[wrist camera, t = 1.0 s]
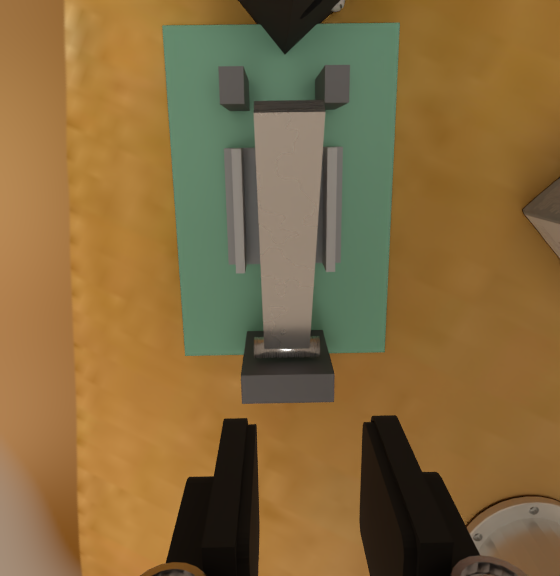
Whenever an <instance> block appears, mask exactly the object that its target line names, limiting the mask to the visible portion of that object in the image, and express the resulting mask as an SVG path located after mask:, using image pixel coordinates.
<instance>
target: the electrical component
mask: <svg viewBox="0 0 560 576" xmlns="http://www.w3.org/2000/svg"><path fill="white" fill-rule="evenodd" d="M238 1H239V2H240V3H241V4H242V6H243V7H244V8H245V9H246V11H247V12H248V13H249V14H250V16H251V17H252V18H253V19H254V21H255V22H256V23H257V24H260V25H261V26H262V27H263V28H264V29H265V31H266V32H267V33H268V34H269V36H270V37H271V38H272V39H273V41H274V42H275V43H276V44H277V46H278V47H279V48H280V49H281V51H282V52H283V53H284V54H286V53H287V52H288V51H289V50H290V49H291V48H292V47H293V46H295V45H296V44H297V43H298V42H299V41H300V40H301V39H302V38H303V37H304V36H305V35H306V34H307V33H308V32H309V31H310V30H311V29H312V28H313V27H314V26H316V25H317V24H320V23H321V22H322V21H323V20H324V19H326V18H327V17H328V16H329V15H330V14H331V13H332V12H337V11H340V10H341V9H340V8H343V7H344V3H345V0H238Z"/></svg>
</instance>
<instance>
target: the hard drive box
mask: <svg viewBox="0 0 560 576" xmlns="http://www.w3.org/2000/svg"><path fill="white" fill-rule="evenodd" d="M523 212H524V214H525V215H526V217H527V218H528V219H529V220H530V222H531V223H532V224H533V225H534V226H535V228H536V229H537V230H538V231H539V233H540V234H541V235H542V237H543V238H544V239H545V241H546V242H547V243H548V244H549V246H550V247H551V248H552V249H553V251H554V252H555V253H556V254H557V255H558V257H559V258H560V178H559V179H557V180H556V181H555V182H554V183H553V184H551V185H550V186H549V187H548V188H547V189H545V190H544V191H543V192H542V193H541V194H539V195H538V196H537V197H536V198H535V199H534V200H533V201H532V202H530V203H529V204H528V205H527V206H526V207H525V208H524V209H523Z"/></svg>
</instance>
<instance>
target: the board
mask: <svg viewBox="0 0 560 576" xmlns="http://www.w3.org/2000/svg"><path fill="white" fill-rule="evenodd" d="M162 27H163V42H164V56H165V71H166V85H167V100H168V114H169V128H170V143H171V157H172V172H173V186H174V201H175V215H176V229H177V244H178V258H179V273H180V287H181V302H182V316H183V330H184V345H185V356H200V355H244V357H243V364H242V372H241V389H242V404H253V403H305V402H334V370H333V367H332V363H331V359H330V355H329V353H366V352H385V332H386V310H387V288H388V267H389V245H390V223H391V202H392V180H393V159H394V137H395V115H396V94H397V72H398V50H399V29H400V23H340V24H317V25H316V26H314V27H313V28H312V29H311V30H310V31H309V32H308V33H307V34H306V35H305V36H304V37H303V38H302V39H301V40H300V41H299V42H298V43H297V44H296V45H295V46H293V47H292V48H291V49H290V50H289V51H288V52H287V53H286V54H284V53H283V52H282V51H281V49H280V48H279V47H278V46H277V44H276V43H275V42H274V41H273V39H272V38H271V37H270V36H269V34H268V33H267V32H266V31H265V29H264V28H263V27H262V26H261V25H260V24H253V25H166V26H162ZM282 100H324V106H325V125H324V140H323V155H322V170H321V185H320V200H319V214H318V229H317V244H316V259H315V274H314V289H313V304H312V319H311V334H310V336H319V339H320V357H287V358H254V337H264V331H263V309H262V287H261V265H260V243H259V221H258V199H257V177H256V155H255V133H254V101H282Z"/></svg>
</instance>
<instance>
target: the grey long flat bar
mask: <svg viewBox="0 0 560 576" xmlns="http://www.w3.org/2000/svg"><path fill="white" fill-rule="evenodd" d="M324 125H325V106H324V100H282V101H254V133H255V155H256V177H257V199H258V221H259V243H260V265H261V287H262V309H263V331H264V337H254V358H287V357H320V339H319V336H310V334H311V319H312V304H313V289H314V274H315V259H316V244H317V229H318V214H319V200H320V185H321V170H322V155H323V140H324Z"/></svg>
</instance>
